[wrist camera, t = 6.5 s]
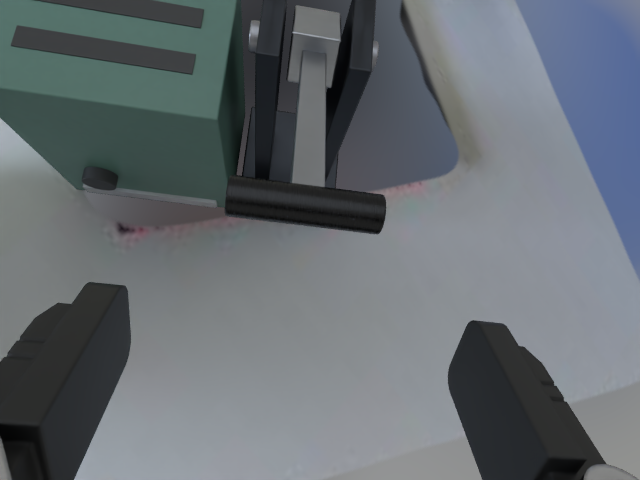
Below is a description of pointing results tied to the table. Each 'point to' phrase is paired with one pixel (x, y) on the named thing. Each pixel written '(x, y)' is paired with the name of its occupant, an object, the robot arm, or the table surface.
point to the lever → (308, 145)
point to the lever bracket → (341, 99)
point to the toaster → (128, 93)
